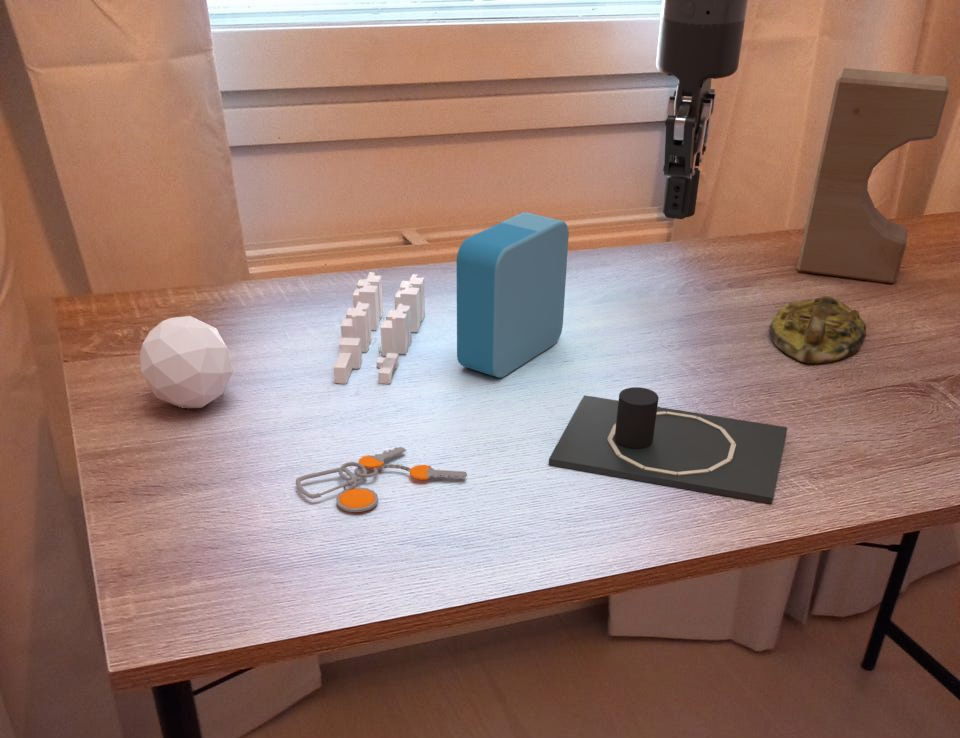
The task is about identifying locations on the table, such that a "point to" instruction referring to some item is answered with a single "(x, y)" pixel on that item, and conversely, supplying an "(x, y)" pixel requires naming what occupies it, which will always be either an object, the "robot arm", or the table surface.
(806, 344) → the olive lumpy oval slab
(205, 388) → the geometric ball
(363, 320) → the modular blocks
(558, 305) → the blue rounded slab
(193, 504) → the table surface
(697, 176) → the eye peg
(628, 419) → the eye peg
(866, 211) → the decorative block
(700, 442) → the slate board
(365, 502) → the key chain
